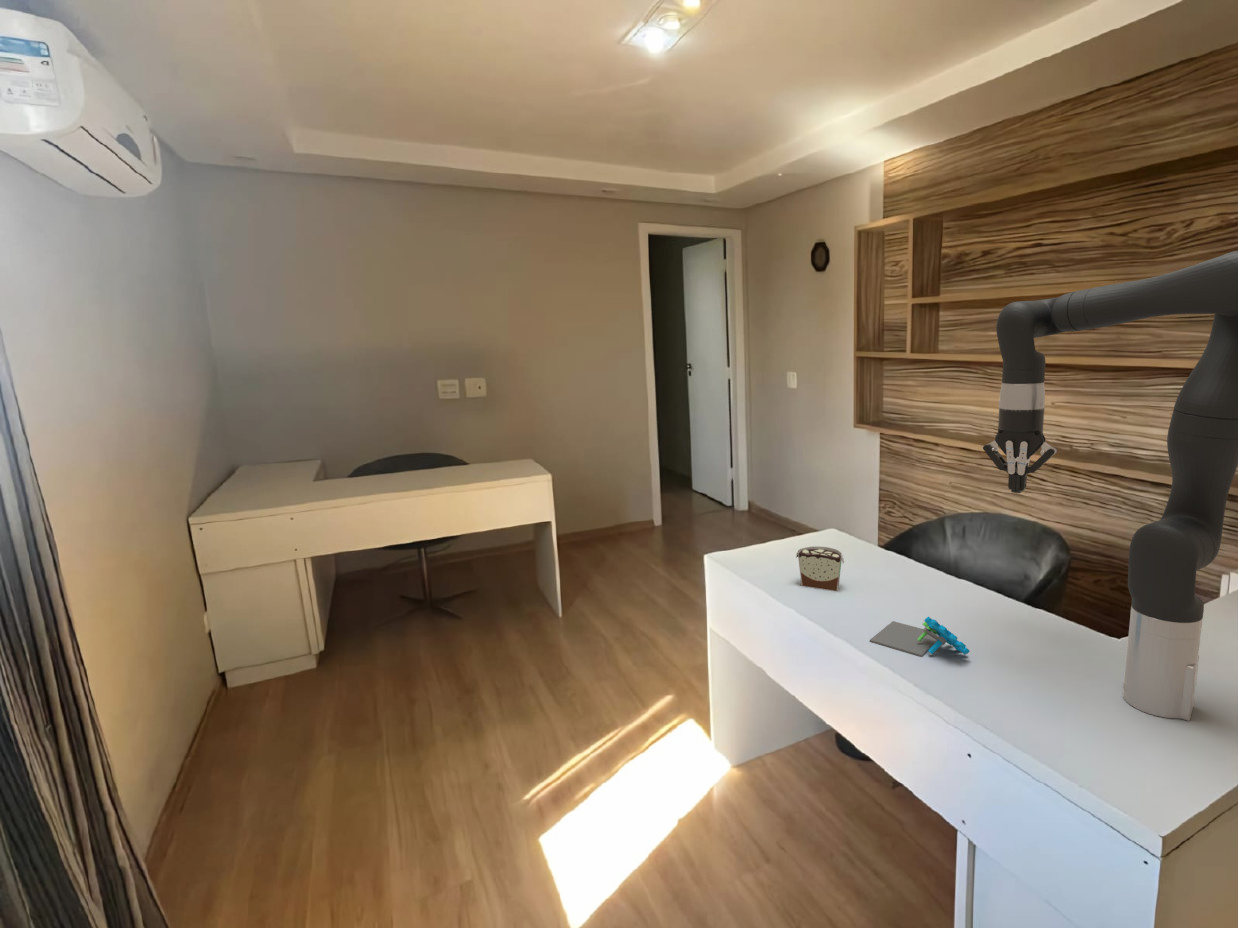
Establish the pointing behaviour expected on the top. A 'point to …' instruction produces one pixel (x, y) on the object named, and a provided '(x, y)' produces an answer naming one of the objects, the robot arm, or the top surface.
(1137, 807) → the top surface
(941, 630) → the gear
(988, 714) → the top surface
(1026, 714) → the top surface
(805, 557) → the food container
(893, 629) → the mat
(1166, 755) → the top surface
